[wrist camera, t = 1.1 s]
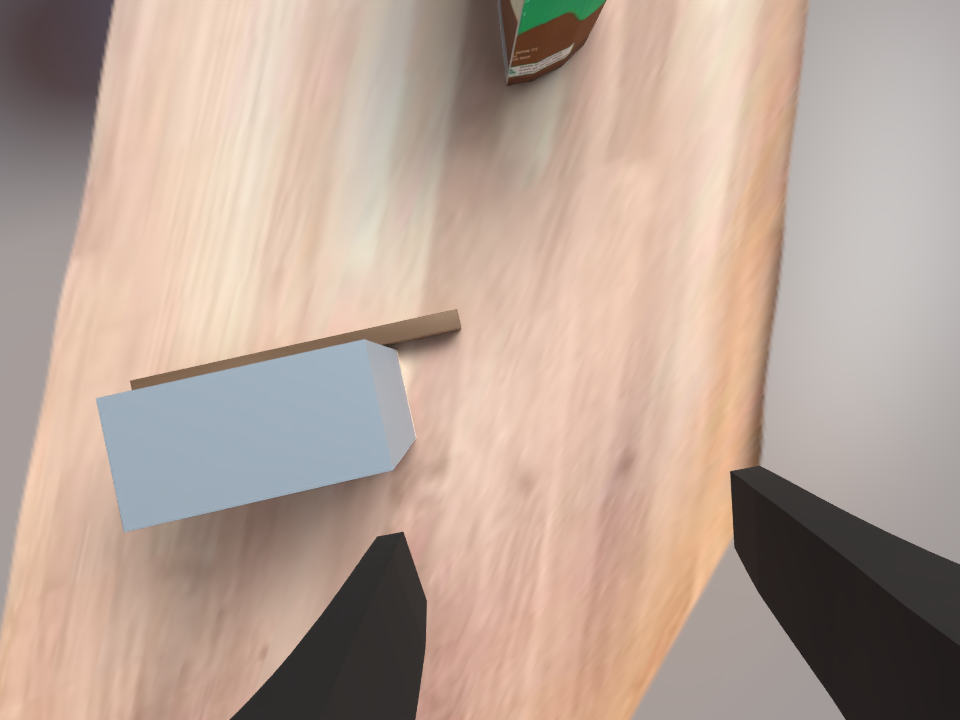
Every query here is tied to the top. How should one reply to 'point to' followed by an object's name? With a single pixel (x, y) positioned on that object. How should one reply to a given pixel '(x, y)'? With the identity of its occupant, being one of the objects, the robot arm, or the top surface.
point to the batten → (322, 345)
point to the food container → (543, 34)
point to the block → (256, 432)
